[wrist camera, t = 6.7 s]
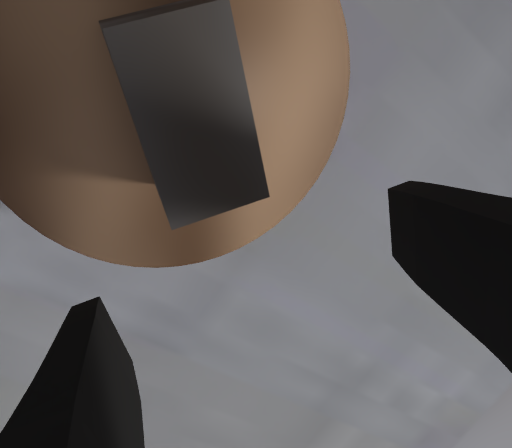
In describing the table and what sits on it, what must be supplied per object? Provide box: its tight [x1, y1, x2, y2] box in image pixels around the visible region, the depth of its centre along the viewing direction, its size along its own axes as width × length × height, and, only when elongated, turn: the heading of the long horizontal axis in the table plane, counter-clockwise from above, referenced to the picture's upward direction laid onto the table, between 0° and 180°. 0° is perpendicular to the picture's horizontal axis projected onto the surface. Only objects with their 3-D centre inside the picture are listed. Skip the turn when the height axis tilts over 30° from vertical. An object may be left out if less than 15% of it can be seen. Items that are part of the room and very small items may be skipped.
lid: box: [0, 0, 350, 268], centre depth 13 cm, size 12×12×4 cm
